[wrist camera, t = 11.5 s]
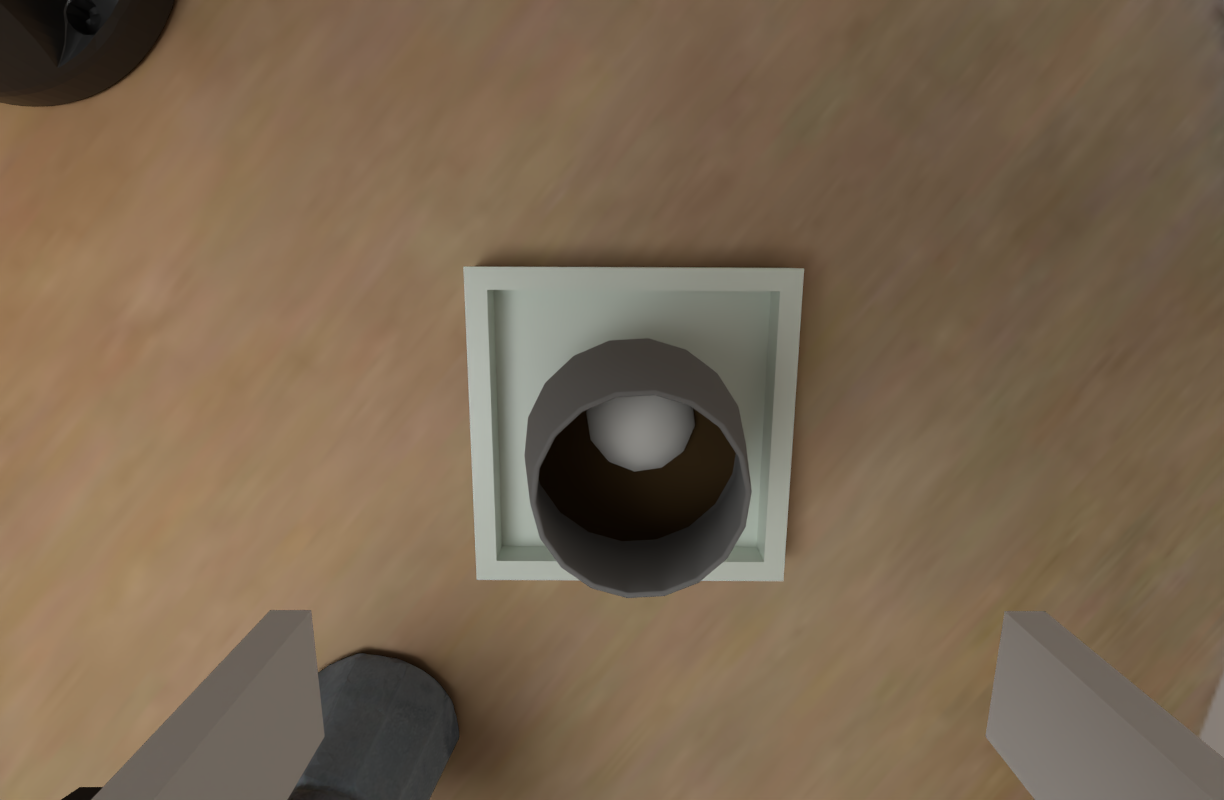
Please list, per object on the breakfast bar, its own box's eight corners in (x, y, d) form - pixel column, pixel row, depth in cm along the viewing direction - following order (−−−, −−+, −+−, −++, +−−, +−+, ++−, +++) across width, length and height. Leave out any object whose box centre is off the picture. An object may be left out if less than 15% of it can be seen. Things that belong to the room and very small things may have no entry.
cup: (546, 316, 31) (516, 343, 21) (741, 340, 31) (800, 377, 21) (528, 504, 33) (492, 608, 23) (711, 524, 33) (753, 636, 23)
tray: (474, 266, 31) (463, 266, 29) (788, 267, 31) (804, 268, 29) (486, 557, 34) (476, 579, 32) (770, 558, 34) (783, 580, 32)
